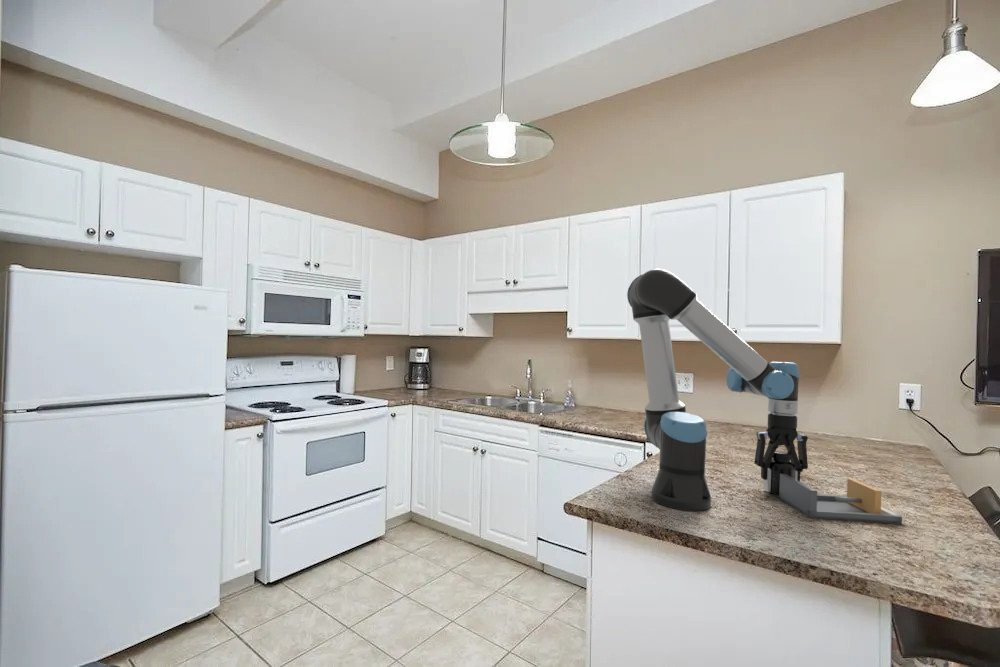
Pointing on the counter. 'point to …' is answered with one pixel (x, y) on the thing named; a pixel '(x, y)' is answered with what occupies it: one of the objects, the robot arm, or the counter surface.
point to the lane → (827, 504)
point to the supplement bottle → (780, 469)
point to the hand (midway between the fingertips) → (779, 491)
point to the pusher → (862, 496)
